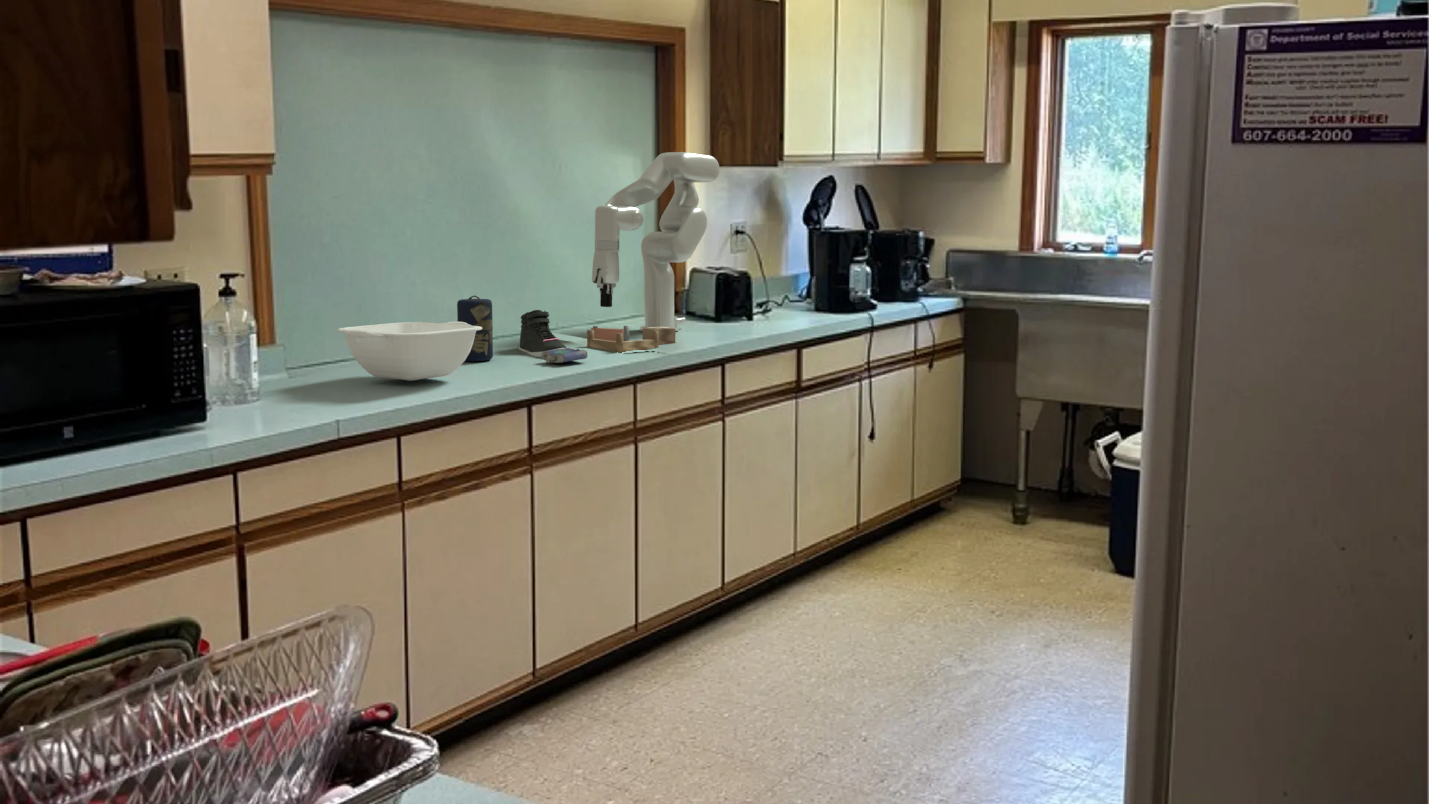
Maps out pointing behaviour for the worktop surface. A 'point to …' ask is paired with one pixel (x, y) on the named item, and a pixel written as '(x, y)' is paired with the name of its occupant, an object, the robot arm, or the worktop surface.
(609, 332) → the rail
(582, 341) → the worktop surface
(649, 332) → the seat block
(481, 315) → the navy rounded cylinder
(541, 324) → the sneaker
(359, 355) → the white bowl
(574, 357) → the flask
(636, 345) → the frame
